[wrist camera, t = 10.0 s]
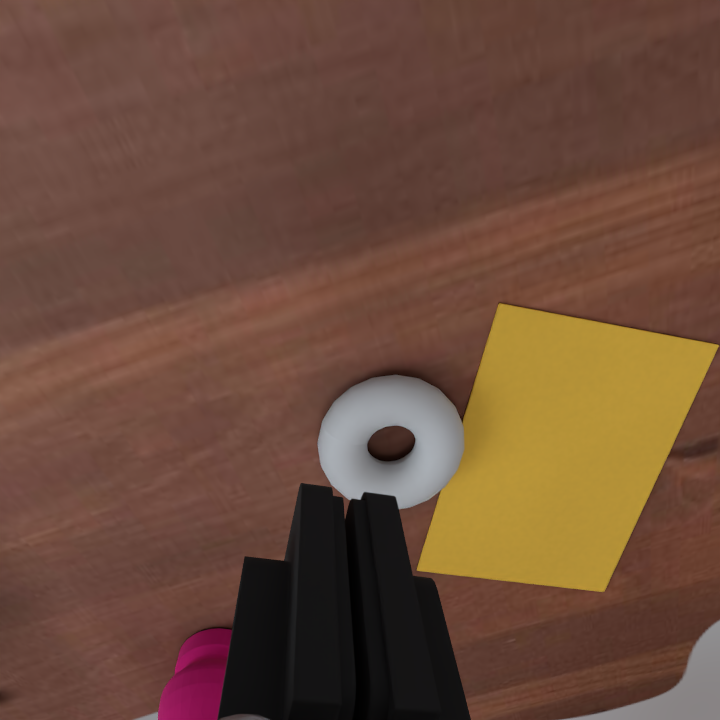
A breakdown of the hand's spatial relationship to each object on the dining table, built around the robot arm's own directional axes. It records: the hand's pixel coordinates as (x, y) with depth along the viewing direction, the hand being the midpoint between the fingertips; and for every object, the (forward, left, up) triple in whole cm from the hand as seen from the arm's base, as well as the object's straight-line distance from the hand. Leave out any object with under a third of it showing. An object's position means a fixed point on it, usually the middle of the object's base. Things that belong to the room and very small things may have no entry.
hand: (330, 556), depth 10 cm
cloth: (+12, +20, -27) cm, 36 cm away
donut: (+12, +7, -27) cm, 30 cm away
